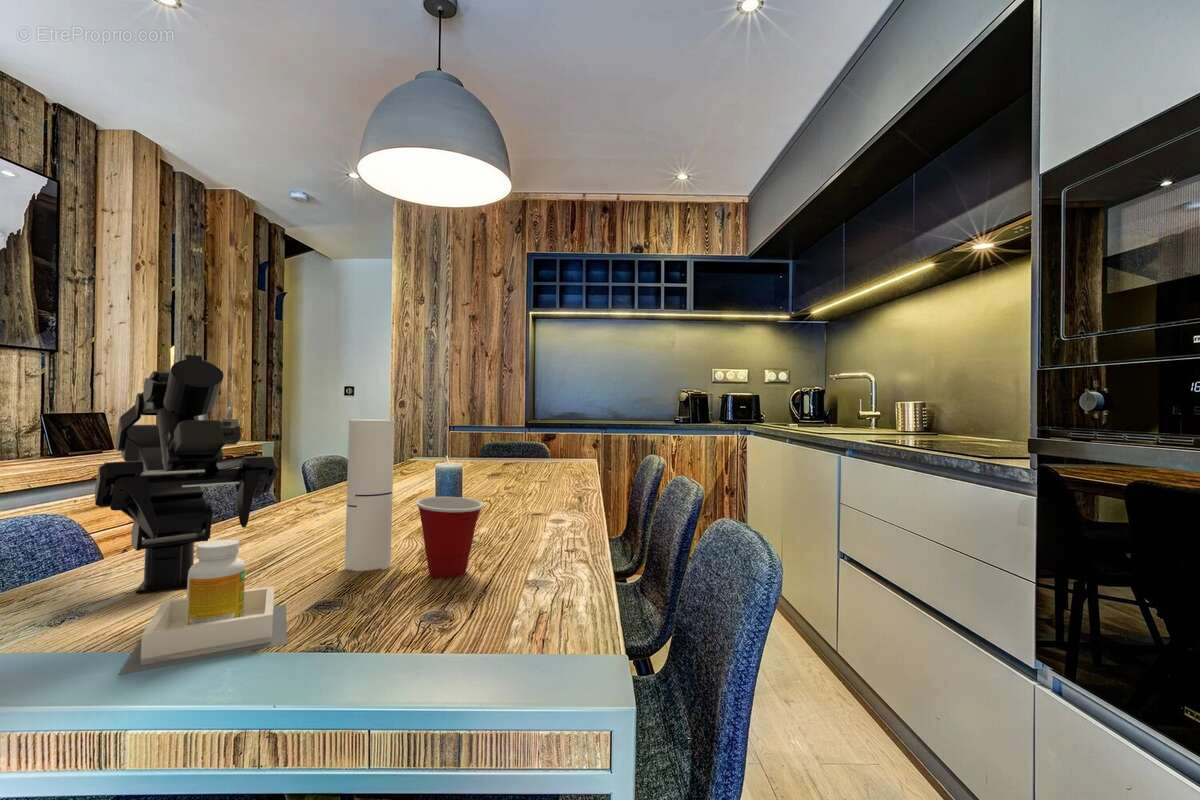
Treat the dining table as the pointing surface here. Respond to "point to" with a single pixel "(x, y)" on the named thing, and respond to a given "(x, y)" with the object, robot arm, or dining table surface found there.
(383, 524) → the cylindrical container
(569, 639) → the dining table surface
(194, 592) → the supplement bottle
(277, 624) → the mat
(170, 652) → the dish
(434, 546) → the plastic cup
